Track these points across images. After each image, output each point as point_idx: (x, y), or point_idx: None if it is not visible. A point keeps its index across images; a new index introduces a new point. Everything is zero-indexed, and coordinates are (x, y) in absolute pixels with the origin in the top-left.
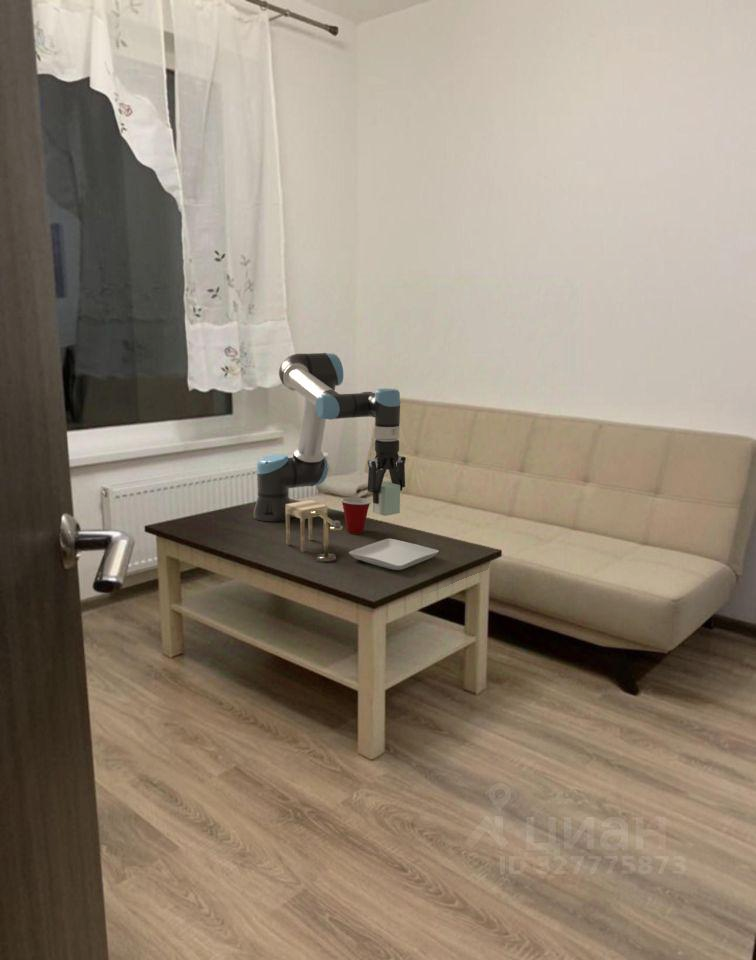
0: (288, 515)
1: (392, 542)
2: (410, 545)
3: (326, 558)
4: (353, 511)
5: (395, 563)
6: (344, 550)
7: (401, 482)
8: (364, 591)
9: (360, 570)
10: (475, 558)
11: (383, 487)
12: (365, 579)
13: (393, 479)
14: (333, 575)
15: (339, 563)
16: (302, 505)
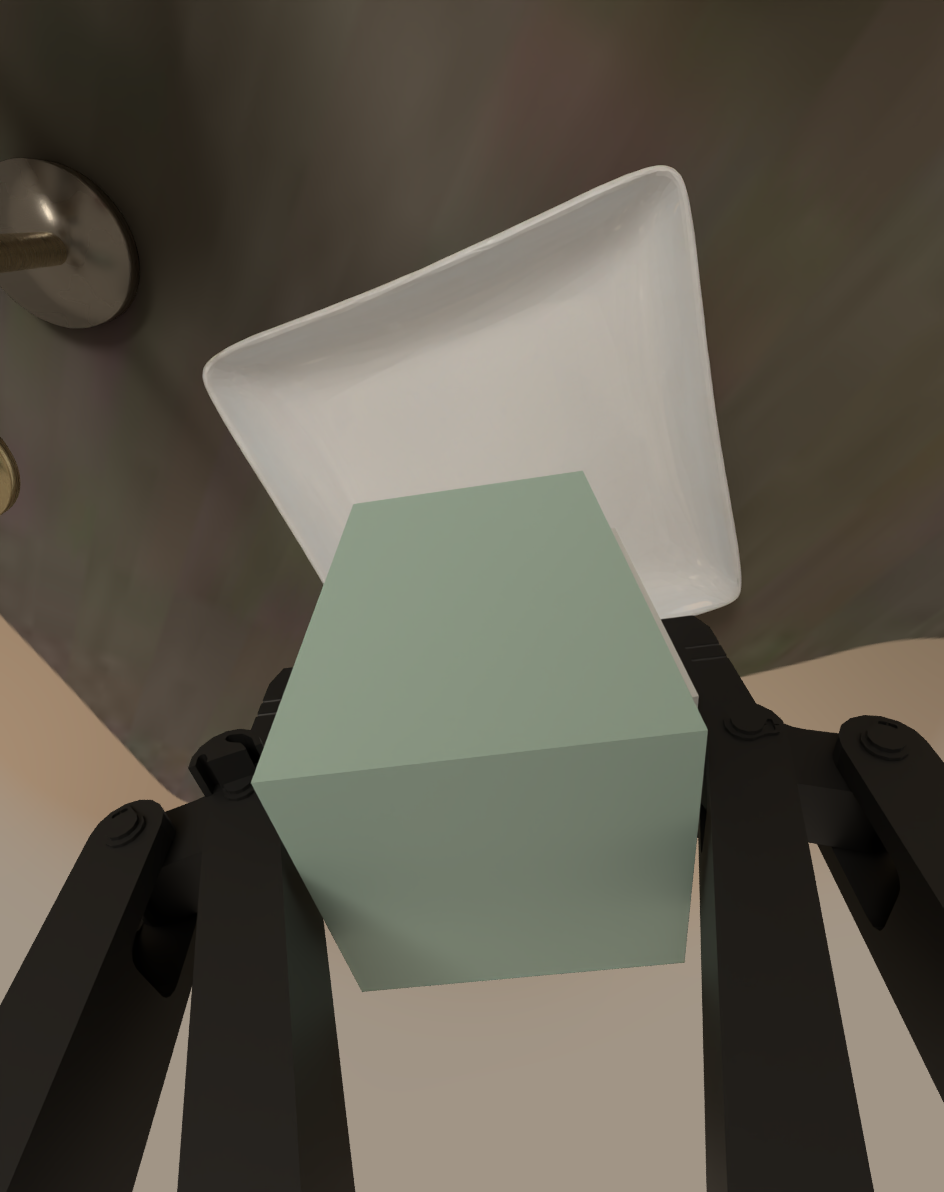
0: None
1: (662, 232)
2: (695, 412)
3: (46, 302)
4: None
5: None
6: (260, 80)
7: (848, 891)
8: (181, 746)
9: (241, 544)
10: (864, 644)
11: (349, 965)
12: (226, 652)
13: (710, 957)
14: (74, 547)
15: (147, 381)
16: None
